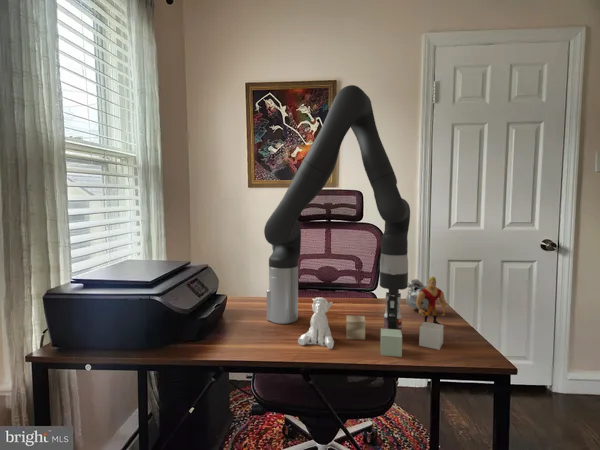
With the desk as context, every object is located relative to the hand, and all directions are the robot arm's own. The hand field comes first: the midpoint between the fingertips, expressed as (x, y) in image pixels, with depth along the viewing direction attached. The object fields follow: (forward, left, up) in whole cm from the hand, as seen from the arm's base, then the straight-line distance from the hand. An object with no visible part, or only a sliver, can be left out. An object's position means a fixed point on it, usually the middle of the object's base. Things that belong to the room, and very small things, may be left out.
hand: (392, 330), depth 98 cm
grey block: (+10, -2, -2) cm, 10 cm away
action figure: (+11, +14, -2) cm, 18 cm away
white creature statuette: (-19, -9, -2) cm, 21 cm away
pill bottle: (0, 0, -2) cm, 2 cm away
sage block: (0, -10, -2) cm, 10 cm away
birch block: (-10, -2, -2) cm, 10 cm away
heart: (+8, +26, -2) cm, 27 cm away
